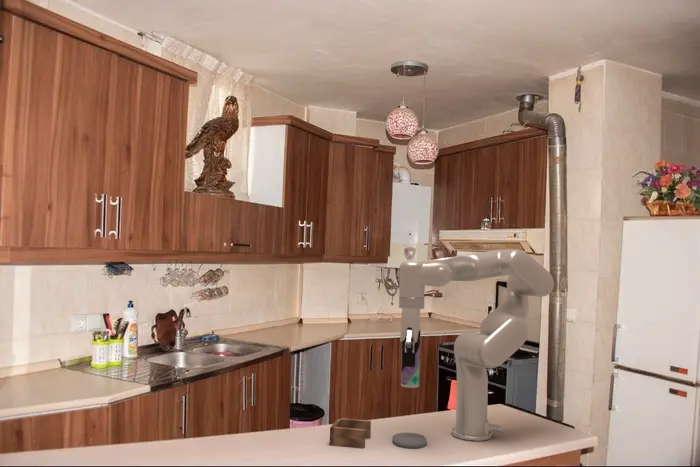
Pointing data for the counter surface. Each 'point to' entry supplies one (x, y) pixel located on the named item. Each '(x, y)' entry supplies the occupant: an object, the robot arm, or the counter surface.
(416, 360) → the spray can
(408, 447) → the mat
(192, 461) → the counter surface
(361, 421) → the frame
